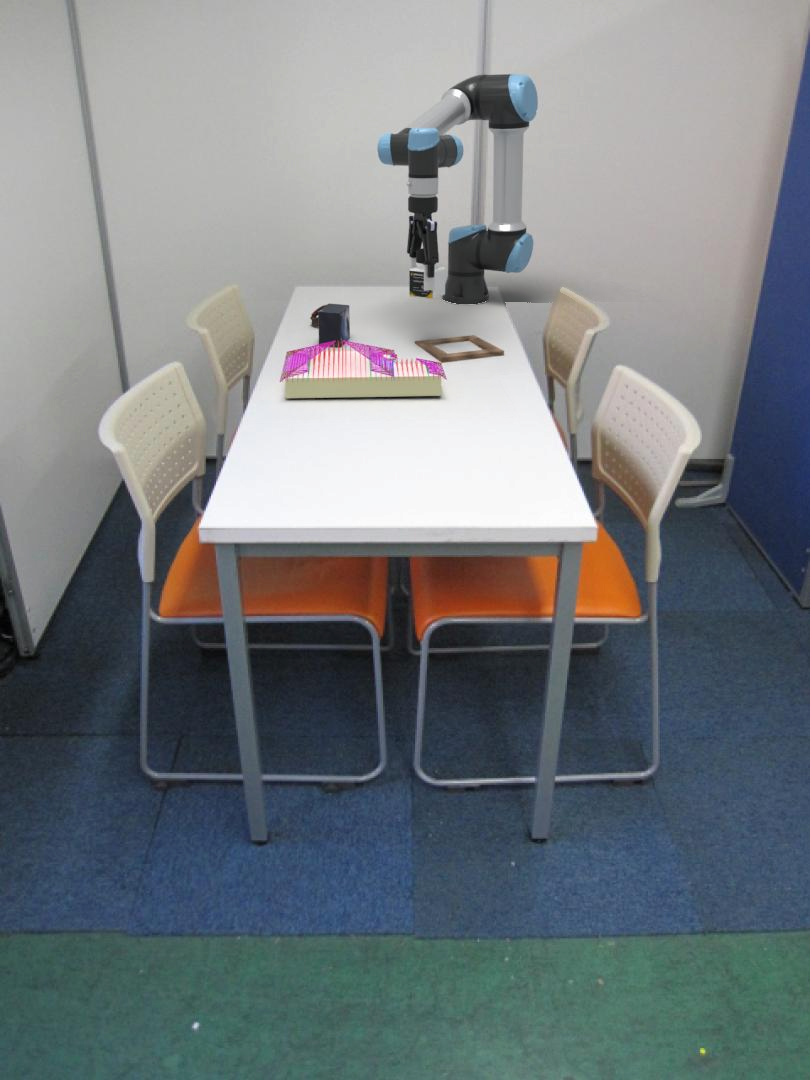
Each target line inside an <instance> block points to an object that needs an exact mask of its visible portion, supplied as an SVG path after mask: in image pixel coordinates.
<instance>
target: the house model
mask: <svg viewBox="0 0 810 1080" xmlns="http://www.w3.org/2000/svg"><path fill="white" fill-rule="evenodd" d="M332 342H333V343H332ZM332 342H327V343H323V344H324V346H325V347H324V346H323V344H319V343H318V344H315V345H310V346H306V347H305V346H304V347H302V348H297V349H293V350H288V351H286V355H285V358H284V362H283V366H282V371H281V374H280V375H281V376H280V379H279V383H283V381H284V382H285V383H284V384H285V397H286V399H316V398H317V399H319V398H320V399H324V398H327V399H329V398H334V399H335V398H377V397H378V398H382V397H383V398H385V397H387V398H389V397H440V396H442V378H443V379H444V380H448V379H447V375H446V373H445V369H444V367H443V364H442V363H441V362H440V361H435V360H428V359H423V358H417V357H415V361H413V358H411V359H410V362H408V359H406V360H405V362H404V363H403V361H404V360H403V359H401V361H400V363H399V362H398V361H399V359H398V354H397V353H395V350H394V349H390V348H385V347H380V346H379V347H378V346H375V345H370V344H363V343H358V342H353V341H349V340H348V341H343V342H345V344H344V345H345V346H344V345H343V342H342V347H341V350H340V348H339V342H338V348H337V349H338V350H336V348H335V347H334V342H336V341H332ZM330 343H331V344H330ZM332 344H333V347H332V350H331V347H330V345H332ZM321 345H322V347H321ZM326 345H327V347H326ZM347 346H349V350H347ZM344 347H345V348H344ZM344 349H345V350H344ZM352 349H353V350H352Z"/></svg>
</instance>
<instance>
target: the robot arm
mask: <svg viewBox="0 0 810 1080" xmlns="http://www.w3.org/2000/svg"><path fill="white" fill-rule="evenodd" d="M538 97H539V96H538V92H537V87H536V84H535V83H534V80H533V79H532V78H531V77H530V76H528V75H527V74H519V73H508V74H507V73H504V74H478V75H473V76H471V77H468V78H465V79H463V80H461V81H460V82H458V83H457V84H455V85H453V86H452V87H450V88H449V89H448V90H446V91H445V92H444V93H443V94H442V96H441V99H440V100H439V101H438V102H437V103H436V104H434V105H433V106H432V107H430V108H429V109H428V110H426V111H425V112H423V114H421V115H420V116H418V117H417V118H415V120H413V121H412V122H411V123H410V124H408V125H407V126H405V127H404V128H403V129H401V130H400V131H399V132H398V133H392V132H391V133H386V134H383V135H381V137H380V138H379V139H378V143H377V148H376V149H377V156H378V158H379V161H380V162H381V163H382V164H384V165H388V166H389V165H390V166H393V167H395V166H398V167H399V166H402V167H403V166H405V167H408V173H407V174H408V176H407V177H408V181H407V182H406V186H407V187H408V190H407V191H408V194H409V196H408V198H407V209H408V210H407V211H408V212H409V213H412V214H413V215H409V216H408V226H409V227H408V234H407V235H408V236H407V248H406V254H408V255H409V258H410V259H409V263H410V266H409V268H410V269H412V268H416V267H417V265H416V251H417V250H419V249H422V248H423V249H424V255H425V262H424V263H423V265H424V291H427V290H435V264H436V263H438V262H439V263H440V253H439V254H438V251H439V243H438V222H437V221H433V218H432V217H433V216H432V214H433V213H434V214H435V213H437V212H438V210H439V209H438V207H439V204H438V203H439V201H438V200H439V198H438V196H437V195H438V194H439V169H441V168H452V167H454V166H456V165H458V164H459V163H460V162H461V161H462V159H463V157H464V153H465V151H464V145H463V142H462V140H461V139H460V138H459V137H458V136H456V135H453V134H446V133H448V132H449V131H451V129H453V128H454V127H455V126H459V125H463V124H465V123H466V122H467V121H488V130H489V132H491V133H492V134H493V176H492V177H493V178H492V179H493V180H492V182H493V187H492V188H493V189H492V191H493V192H492V193H493V194H492V197H493V198H492V201H493V202H492V206H493V207H492V221H491V222H490V224H488V226H487V225H486V224H471V225H469V224H468V225H462V226H456V227H453V228H451V229H450V231H449V232H448V233H449V234H448V241H447V246H448V247H447V248H448V250H447V251H448V252H447V253H448V254H447V255H448V256H447V278H446V279H445V295H443V296H441V300H442V299H443V300H445V301H448V302H451V303H450V304H452V303H456V304H455V305H459V304H476V305H479V304H478V303H482V302H485V301H487V300H488V299H490V298H489V297H490V294H489V290H488V285H487V283H486V279H485V271H494V272H502V273H503V272H504V273H506V274H509V273H514V274H515V273H521V272H523V271H524V270H525V269H526V268H527V266H528V265H529V262H530V260H531V258H532V254H533V250H534V238H533V236H532V234H530V233H529V232H527V224H525V223H524V221H523V220H522V215H523V213H522V212H523V211H522V209H523V173H524V171H523V170H524V169H523V168H524V139H525V138H524V137H525V135H524V134H525V132H526V131H527V130H528V129H529V128H530V122H531V121H533V120H534V119H535V117H536V116H537V110H538V106H539V105H538V104H539V100H538ZM410 269H409V270H410ZM443 300H442V301H443ZM445 301H444V302H445ZM488 301H489V300H488ZM488 301H487V302H488ZM448 302H447V303H448ZM482 304H483V303H482Z"/></svg>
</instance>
